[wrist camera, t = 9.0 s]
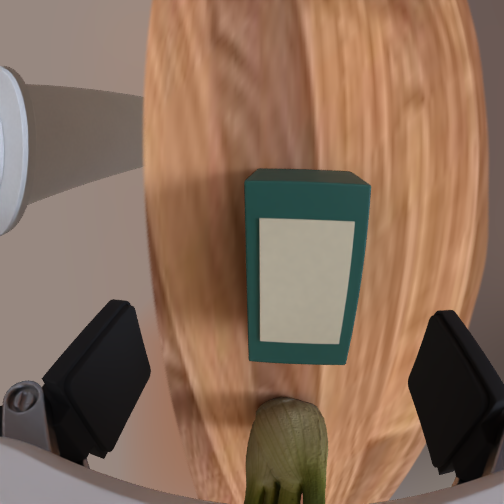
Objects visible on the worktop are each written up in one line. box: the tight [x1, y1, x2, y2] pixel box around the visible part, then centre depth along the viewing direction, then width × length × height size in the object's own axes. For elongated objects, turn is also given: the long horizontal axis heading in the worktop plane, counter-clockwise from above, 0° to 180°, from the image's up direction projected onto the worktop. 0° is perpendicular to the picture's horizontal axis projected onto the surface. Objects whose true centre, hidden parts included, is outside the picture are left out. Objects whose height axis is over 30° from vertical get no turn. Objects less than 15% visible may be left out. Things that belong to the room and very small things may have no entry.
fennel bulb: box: [244, 397, 328, 504], centre depth 17 cm, size 6×5×12 cm
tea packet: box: [244, 169, 371, 365], centre depth 15 cm, size 9×5×5 cm, turn 1°
